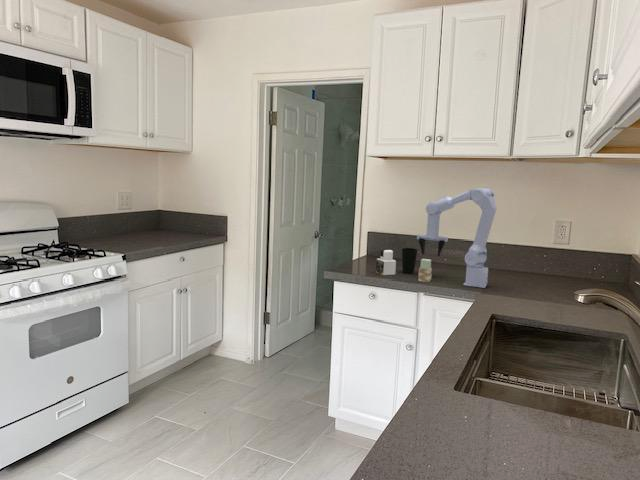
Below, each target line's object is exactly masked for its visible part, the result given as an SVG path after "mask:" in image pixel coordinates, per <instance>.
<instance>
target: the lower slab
mask: <svg viewBox="0 0 640 480" xmlns="http://www.w3.org/2000/svg"><path fill="white" fill-rule="evenodd" d="M432 277H433V275H432V273H431V275H430V276H424V275H419V274H418V278H417V279H418V281H417V282H423V283H424V282H425V283H430V282H431V281H432Z"/></svg>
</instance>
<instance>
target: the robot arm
mask: <svg viewBox="0 0 640 480" xmlns="http://www.w3.org/2000/svg"><path fill="white" fill-rule="evenodd" d="M495 197H496V194H495V193H494V192H493V191H492V189H491V188H488V187H486V188H480V187H477V188H473V189H470V190H467V191H464V192H462V193H460V194H457V195H456V196H453V197H451V196H447V195H445V196H444V197H443V198H441V199H436V200H435V202H432V201H431V202H429V203H427V204H426V206H425V210H426V213H427V222H426V235H424V234H417V235H416V240H418V243H419V246H420V250H421V255H424V254H425V252H426V249H425V247H426V241H437V243H438V247H437V248H438V249H437V257H440V256H441V252H442V250H443V249H444V246H445V244H446V243H447V242H448V240H449V239H448V236H447V237H446V236H439V231H440V221H441V219H440V218H441V214H442V213H443V212H446V211H449V210H452V209H453V208H454V207H455V206H456V205H458V204H460V203H463V202H466V201H472V202H473V203H475V204H476V205H478V206H479V208H480V209H481V214H480V215H481V216H480V218H479V222H478V226H477V229H476V233H475V236H474V239H473V243H472V245H471V246H470V247H469V249H468V252H466V254H465V255H464V262H465V264H466V273H465V282H464V283H463V284H462V285H463V286H467V287H473V288H474V287H475V288H476V287H477V288H481V289H482V288H483V289H485V288H486V287H487V285H488V278H489V277H488V275H489V268H488V267H485V266H484V264H485V263H486V261H487V259H488V258H487V253H488V250H487V247H486V245H487V243H488V240H489V236H490V232H491V229H492V224H493V223H494V222H493V221H494V220H495V215H496V211H497V205H496V201H495V200H496V199H495Z"/></svg>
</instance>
